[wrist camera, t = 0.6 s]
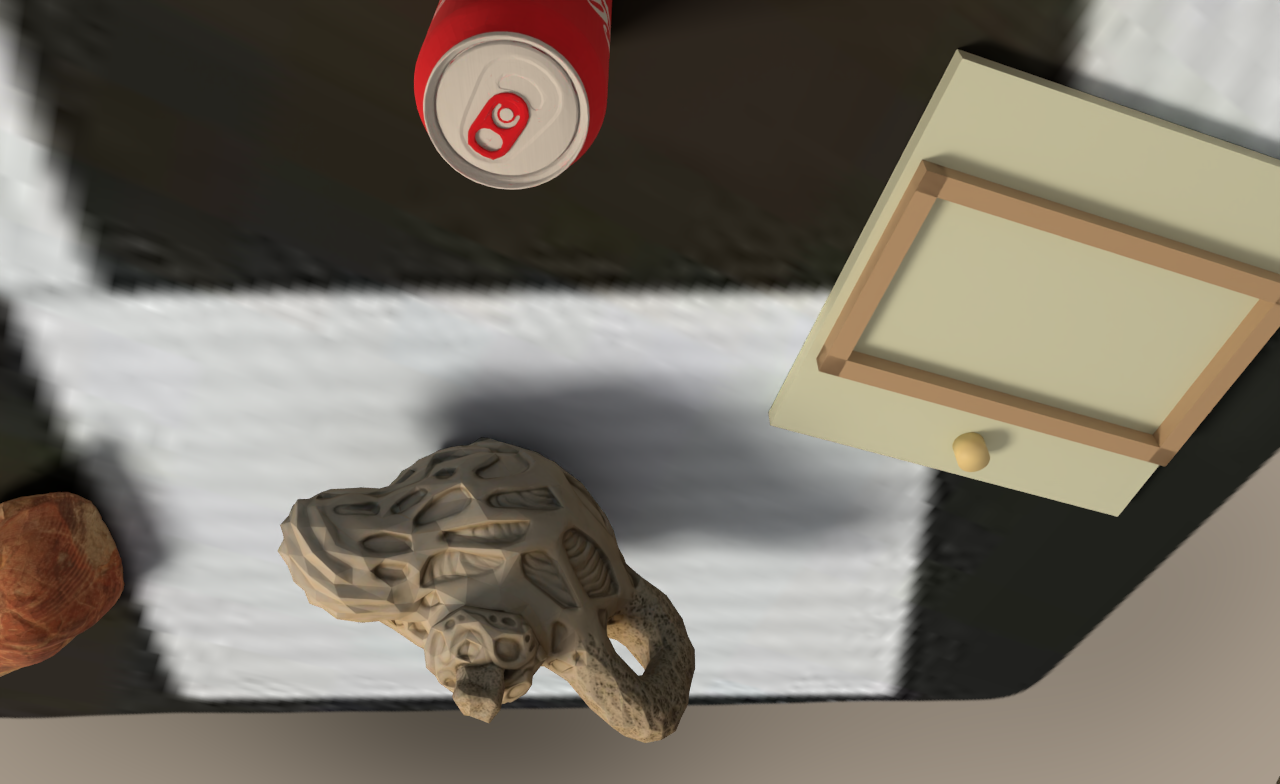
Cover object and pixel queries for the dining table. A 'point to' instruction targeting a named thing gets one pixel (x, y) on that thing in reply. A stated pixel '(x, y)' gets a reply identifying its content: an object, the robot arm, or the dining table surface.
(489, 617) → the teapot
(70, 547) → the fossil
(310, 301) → the dining table surface
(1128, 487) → the mount board
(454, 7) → the beverage can
